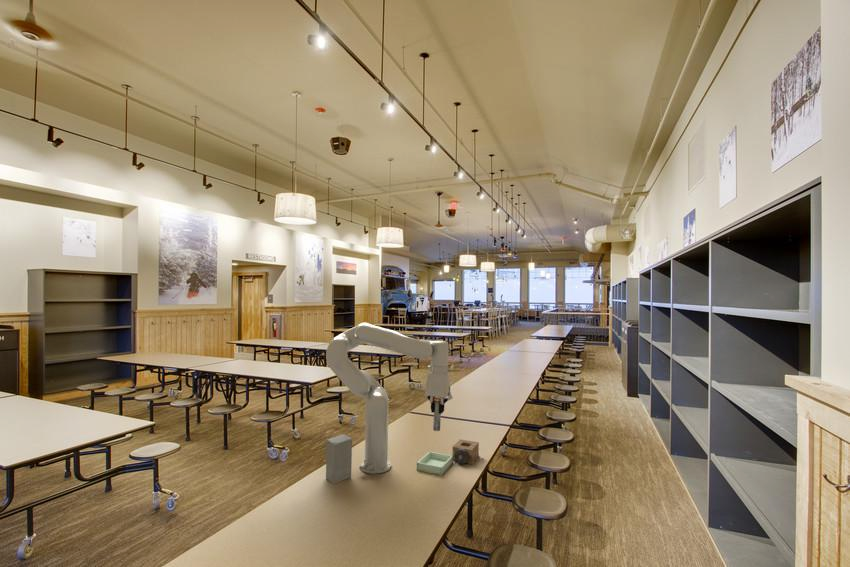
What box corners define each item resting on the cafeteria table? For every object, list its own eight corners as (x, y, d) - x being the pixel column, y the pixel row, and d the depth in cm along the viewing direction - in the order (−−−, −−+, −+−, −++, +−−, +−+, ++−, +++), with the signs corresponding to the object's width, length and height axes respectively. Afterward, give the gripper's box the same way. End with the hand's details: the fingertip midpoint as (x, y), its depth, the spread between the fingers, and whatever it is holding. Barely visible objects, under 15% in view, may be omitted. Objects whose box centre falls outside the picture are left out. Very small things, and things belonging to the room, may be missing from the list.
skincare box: (342, 472, 157) (343, 433, 157) (352, 478, 152) (353, 437, 152) (324, 479, 151) (325, 438, 152) (334, 485, 146) (334, 442, 146)
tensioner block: (470, 466, 164) (470, 452, 164) (450, 462, 167) (450, 448, 168) (478, 455, 175) (478, 442, 175) (459, 452, 179) (460, 439, 179)
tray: (441, 475, 155) (441, 467, 155) (416, 469, 160) (416, 462, 160) (452, 462, 167) (452, 455, 167) (429, 458, 172) (429, 451, 172)
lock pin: (439, 431, 163) (440, 399, 163) (431, 430, 164) (432, 398, 165) (442, 429, 166) (443, 397, 167) (434, 427, 167) (435, 396, 168)
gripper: (418, 368, 166) (416, 411, 165) (454, 372, 160) (452, 417, 159) (425, 366, 173) (423, 407, 172) (459, 370, 166) (458, 413, 165)
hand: (437, 412), depth 165 cm, fingers closed on lock pin, 3 cm apart
